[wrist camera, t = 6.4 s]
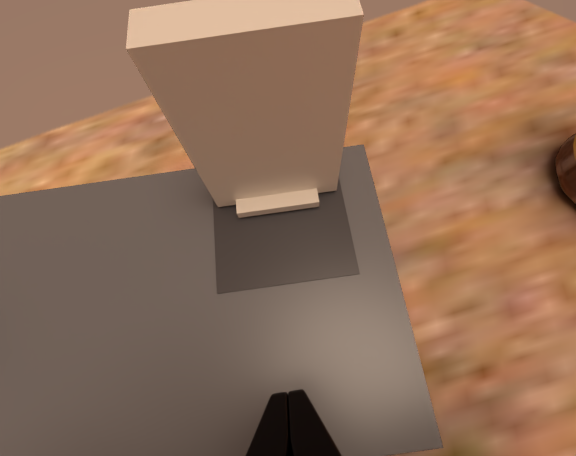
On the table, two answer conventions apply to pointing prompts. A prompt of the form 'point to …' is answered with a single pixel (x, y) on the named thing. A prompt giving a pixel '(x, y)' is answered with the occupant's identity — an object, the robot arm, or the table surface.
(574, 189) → the sauce bottle
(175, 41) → the ivory paddle
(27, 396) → the switch panel
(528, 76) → the table surface
